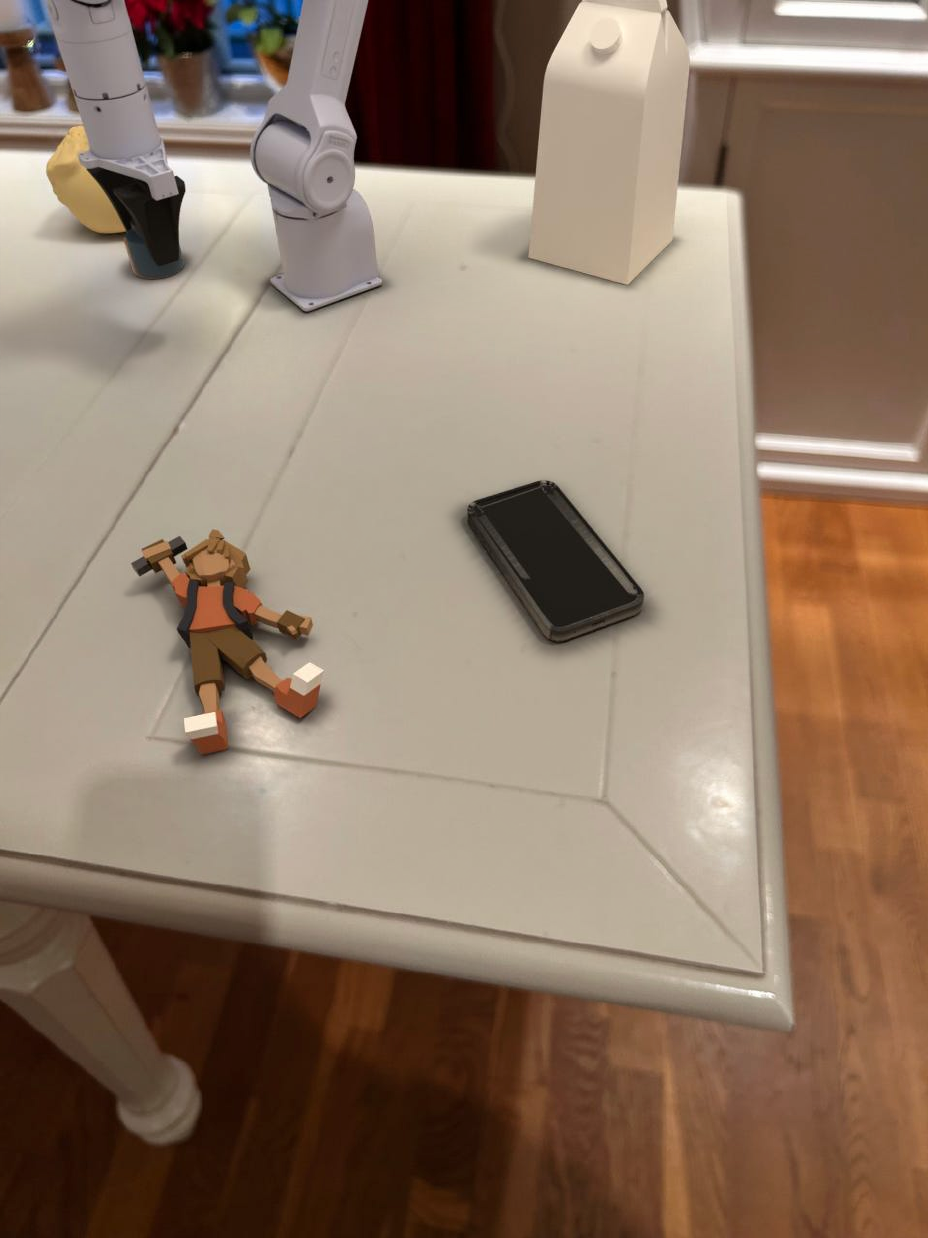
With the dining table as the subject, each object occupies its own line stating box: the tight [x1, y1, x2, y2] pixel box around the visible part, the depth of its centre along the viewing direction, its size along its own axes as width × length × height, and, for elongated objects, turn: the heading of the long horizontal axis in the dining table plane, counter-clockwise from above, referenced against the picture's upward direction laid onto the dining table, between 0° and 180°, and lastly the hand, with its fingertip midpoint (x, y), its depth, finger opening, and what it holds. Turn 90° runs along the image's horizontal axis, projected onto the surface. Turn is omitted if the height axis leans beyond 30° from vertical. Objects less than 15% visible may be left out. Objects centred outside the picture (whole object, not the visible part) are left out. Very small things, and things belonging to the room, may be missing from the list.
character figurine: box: [130, 529, 324, 756], centre depth 63 cm, size 12×5×18 cm
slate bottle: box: [124, 218, 185, 279], centre depth 83 cm, size 4×4×4 cm
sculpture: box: [45, 124, 127, 234], centre depth 105 cm, size 11×12×11 cm
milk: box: [527, 0, 691, 286], centre depth 92 cm, size 12×12×26 cm
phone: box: [466, 479, 645, 643], centre depth 68 cm, size 8×1×15 cm
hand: (156, 251), depth 83 cm, fingers closed on slate bottle, 4 cm apart
